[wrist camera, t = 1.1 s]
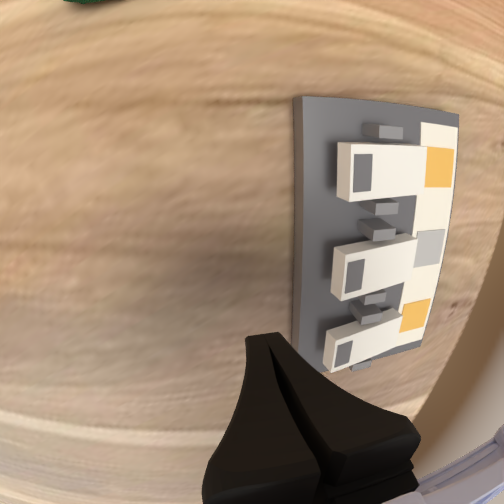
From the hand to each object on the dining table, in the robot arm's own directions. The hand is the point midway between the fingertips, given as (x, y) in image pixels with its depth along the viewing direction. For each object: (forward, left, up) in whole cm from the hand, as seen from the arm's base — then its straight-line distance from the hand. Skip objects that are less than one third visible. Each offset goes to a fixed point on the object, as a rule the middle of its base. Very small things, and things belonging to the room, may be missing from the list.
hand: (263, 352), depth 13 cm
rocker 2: (0, -9, -6) cm, 10 cm away
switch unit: (0, -10, -9) cm, 14 cm away
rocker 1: (+6, -9, -6) cm, 12 cm away
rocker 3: (-6, -9, -6) cm, 12 cm away
